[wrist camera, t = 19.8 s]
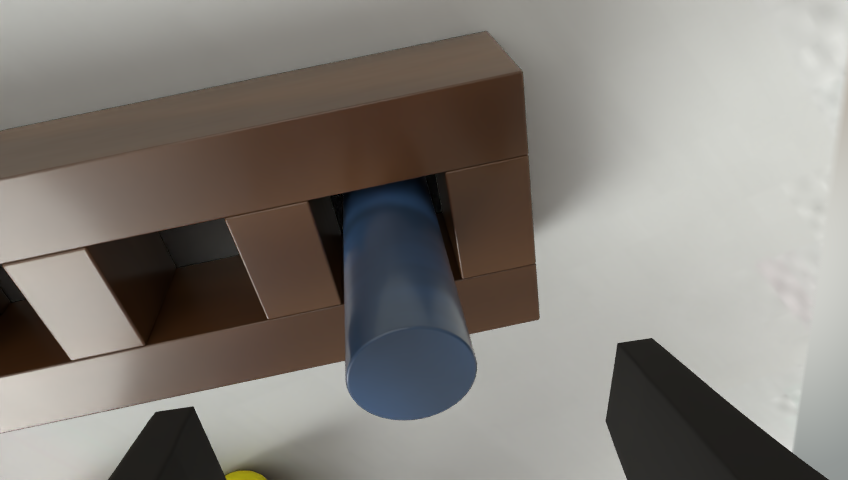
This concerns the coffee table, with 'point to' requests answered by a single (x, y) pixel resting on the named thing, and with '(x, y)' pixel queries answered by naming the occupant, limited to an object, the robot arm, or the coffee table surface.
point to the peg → (401, 305)
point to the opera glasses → (244, 476)
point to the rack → (247, 223)
